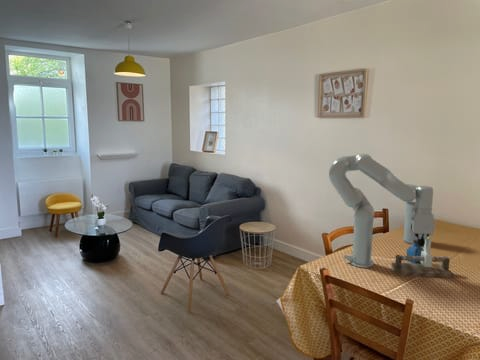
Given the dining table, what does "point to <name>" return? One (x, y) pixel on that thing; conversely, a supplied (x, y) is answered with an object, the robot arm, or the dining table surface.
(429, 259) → the white l-shaped bracket
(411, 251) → the perfume bottle
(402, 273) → the pipe stand
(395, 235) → the dining table surface
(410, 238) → the cylinder vase
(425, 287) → the dining table surface
